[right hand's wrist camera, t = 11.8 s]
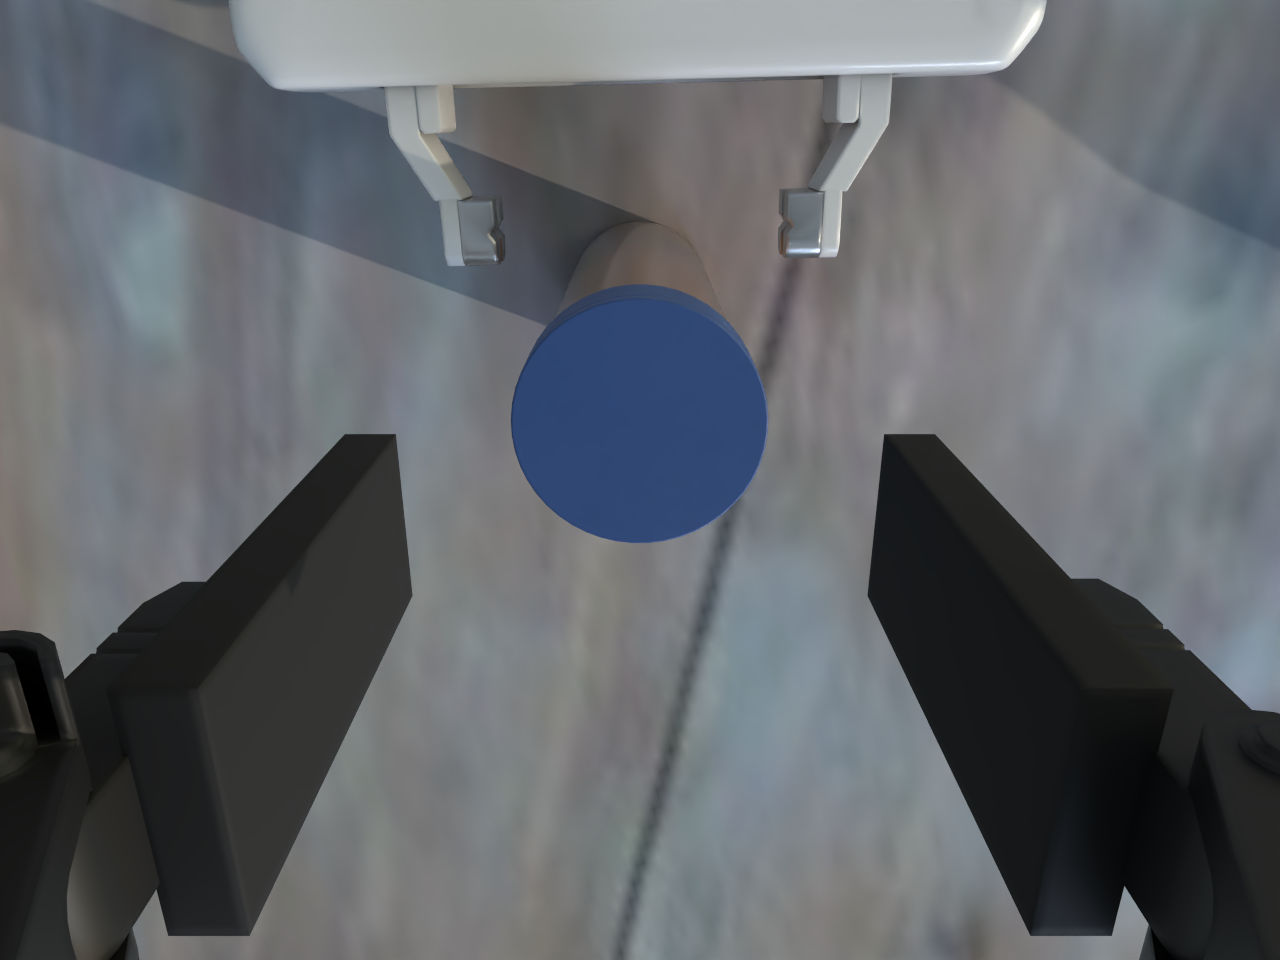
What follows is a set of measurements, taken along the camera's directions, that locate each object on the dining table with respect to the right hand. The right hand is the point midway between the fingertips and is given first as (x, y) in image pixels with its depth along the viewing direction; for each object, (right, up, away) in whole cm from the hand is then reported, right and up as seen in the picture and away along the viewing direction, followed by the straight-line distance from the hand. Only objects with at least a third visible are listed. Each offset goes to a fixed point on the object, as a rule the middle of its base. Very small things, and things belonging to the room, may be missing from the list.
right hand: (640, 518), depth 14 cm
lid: (0, +2, +4) cm, 5 cm away
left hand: (0, +7, +12) cm, 14 cm away
